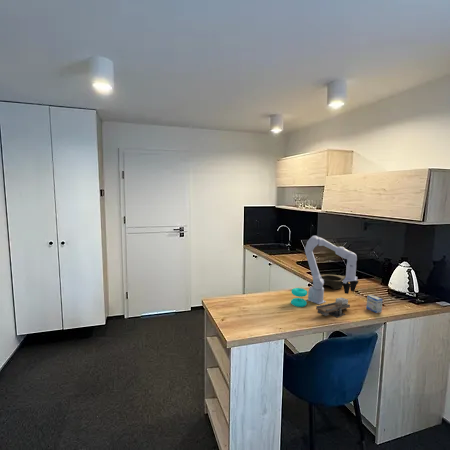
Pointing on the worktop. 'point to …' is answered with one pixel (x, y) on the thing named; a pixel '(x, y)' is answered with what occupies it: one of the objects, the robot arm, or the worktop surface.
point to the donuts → (299, 301)
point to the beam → (329, 308)
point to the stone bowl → (333, 281)
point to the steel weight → (341, 301)
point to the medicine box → (374, 303)
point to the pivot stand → (337, 313)
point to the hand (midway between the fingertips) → (349, 292)
